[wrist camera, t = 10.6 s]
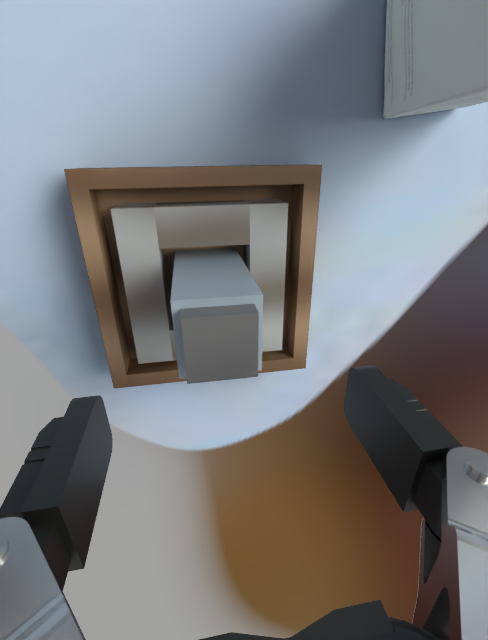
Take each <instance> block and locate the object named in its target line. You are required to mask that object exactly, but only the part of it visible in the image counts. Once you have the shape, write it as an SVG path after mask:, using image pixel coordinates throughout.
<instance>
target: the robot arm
mask: <svg viewBox="0 0 488 640" xmlns="http://www.w3.org/2000/svg"><path fill="white" fill-rule="evenodd" d="M344 412H345V416H346V419H347V421H348V423H349V425H350V426H351V428H352V430H353V431H354V433H355V435H356V436H357V438H358V439H359V441H360V443H361V444H362V446H363V447H364V449H365V451H366V452H367V454H368V456H369V457H370V458H371V460H372V462H373V464H374V465H375V467H376V469H377V470H378V472H379V474H380V475H381V477H382V478H383V480H384V482H385V483H386V485H387V486H388V488H389V490H390V491H391V493H392V494H393V496H394V498H395V499H396V501H397V503H398V504H399V506H400V507H401V509H402V510H403V512H407V511H412V510H418V509H419V511H420V512H421V514H422V515H423V517H424V518H423V520H422V524H421V545H420V564H419V585H418V596H417V602H416V606H415V611H414V616H413V623H409V622H407V621H404V620H400V619H397V618H393V617H388V616H387V614H386V612H385V610H384V608H383V605H382V603H381V601H380V600H377V601H372V602H368V603H363V604H359V605H354V606H350V607H345V608H341V609H336V610H333V611H332V612H330V613H329V614H327V615H325V616H324V617H322V618H321V619H319V620H317V621H316V622H314V623H313V624H311V625H310V626H308V627H307V628H305V629H303V630H302V631H300V632H299V633H297V634H296V635H294V636H292V637H290V638H286V639H281V638H273V637H265V636H257V635H248V634H239V633H227V634H222V635H218V636H213V637H209V638H205V639H200V640H488V454H487V453H485V452H483V451H480V450H477V449H474V448H469V447H463V446H462V445H461V444H460V443H459V442H458V441H457V440H456V439H455V438H454V437H453V436H452V435H451V434H450V433H449V431H448V430H446V428H444V426H443V425H442V424H441V423H440V422H439V421H438V420H437V419H436V418H435V417H434V416H433V415H432V414H431V413H430V412H429V411H426V408H425V407H424V405H423V404H422V403H421V402H419V401H418V400H417V398H416V397H415V396H414V395H413V394H412V393H411V392H410V391H409V390H408V389H407V388H406V387H404V386H403V385H401V384H399V383H398V382H396V381H394V380H393V379H387V378H386V377H385V376H384V375H383V374H382V373H381V372H380V370H379V369H378V368H377V367H375V366H366V367H357V368H351V369H350V371H349V374H348V381H347V387H346V393H345V400H344ZM111 453H112V433H111V429H110V425H109V421H108V418H107V414H106V410H105V406H104V402H103V399H102V397H101V396H91V397H82V398H74V399H72V401H71V402H70V404H69V407H68V409H67V411H66V413H65V416H64V417H60V418H54V419H53V420H52V421H51V422H49V423H48V424H47V425H46V427H44V428H43V429H42V430H41V431H40V432H39V434H38V436H37V438H36V440H35V442H34V444H33V446H32V448H31V451H30V452H29V453H28V456H27V457H26V459H25V464H24V465H22V467H21V469H20V471H19V473H18V475H17V477H16V479H15V481H14V483H13V485H12V486H11V488H10V490H9V492H8V494H7V496H6V498H5V500H4V502H3V504H2V506H1V508H0V640H86V639H85V637H84V635H83V633H82V631H81V629H80V627H79V625H78V623H77V620H76V618H75V616H74V614H73V612H72V610H71V608H70V606H69V604H68V602H67V600H66V598H65V595H64V593H63V587H64V584H65V580H66V577H67V573H68V571H73V570H78V569H84V566H85V562H86V558H87V554H88V550H89V545H90V541H91V537H92V533H93V528H94V524H95V520H96V516H97V512H98V508H99V503H100V499H101V495H102V491H103V486H104V483H105V478H106V474H107V470H108V465H109V462H110V457H111Z"/></svg>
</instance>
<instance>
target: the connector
mask: <svg viewBox="0 0 488 640" xmlns="http://www.w3.org/2000/svg"><path fill="white" fill-rule="evenodd" d="M170 302H171V311H172V320H173V328H174V337H175V346H176V355H177V364H178V372H179V379H184V378H187V384H190V383H200V382H209V381H219V380H229V379H238V378H248V377H258V371H262V332H263V293H262V292H261V290H260V288H259V287H258V285H257V283H256V282H255V280H254V278H253V277H252V275H251V273H250V272H249V270H248V268H247V267H246V265H245V263H244V262H243V260H242V258H241V257H240V255H239V253H238V251H237V250H236V248H235V247H233V248H212V249H190V250H175V260H174V270H173V280H172V290H171V300H170Z"/></svg>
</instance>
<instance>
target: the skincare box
mask: <svg viewBox="0 0 488 640" xmlns="http://www.w3.org/2000/svg"><path fill="white" fill-rule="evenodd" d="M484 102H488V0H387V12H386V44H385V94H384V112H383V117H384V118H386V119H390V118H396V117H403V116H410V115H417V114H424V113H430V112H437V111H443V110H450V109H456V108H462V107H468V106H472V105H476V104H480V103H484Z"/></svg>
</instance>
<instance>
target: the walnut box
mask: <svg viewBox="0 0 488 640" xmlns="http://www.w3.org/2000/svg"><path fill="white" fill-rule="evenodd" d="M64 171H65V175H66V180H67V184H68V188H69V193H70V197H71V202H72V206H73V210H74V215H75V219H76V224H77V228H78V232H79V237H80V241H81V246H82V250H83V254H84V259H85V263H86V268H87V272H88V276H89V281H90V285H91V290H92V294H93V298H94V303H95V307H96V312H97V316H98V320H99V325H100V329H101V334H102V338H103V343H104V347H105V351H106V356H107V360H108V365H109V369H110V373H111V378H112V382H113V387H114V388H123V387H132V386H142V385H151V384H161V383H170V382H179V381H187V378H184V379H179V372H178V364H177V355H176V346H175V337H174V328H173V320H172V311H171V302H170V300H171V290H172V280H173V270H174V260H175V250H190V249H212V248H233V247H235V248H236V250H237V251H238V253H239V255H240V257H241V258H242V260H243V262H244V263H245V265H246V267H247V268H248V270H249V272H250V273H251V275H252V277H253V278H254V280H255V282H256V283H257V285H258V287H259V288H260V290H261V292H262V293H263V332H262V371H258V373H264V372H274V371H283V370H293V369H302V368H306V356H307V344H308V331H309V319H310V307H311V294H312V282H313V270H314V257H315V245H316V233H317V220H318V208H319V196H320V183H321V171H322V165H250V166H189V167H128V168H76V169H64Z"/></svg>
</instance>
